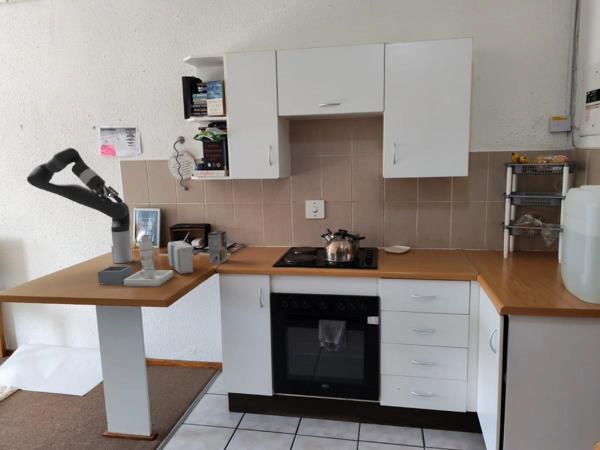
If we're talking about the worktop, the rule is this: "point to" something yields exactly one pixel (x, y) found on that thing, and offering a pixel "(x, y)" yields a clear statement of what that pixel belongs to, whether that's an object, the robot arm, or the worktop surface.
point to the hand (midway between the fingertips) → (116, 203)
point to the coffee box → (217, 247)
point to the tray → (139, 281)
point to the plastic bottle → (147, 258)
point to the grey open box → (114, 274)
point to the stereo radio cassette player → (180, 256)
